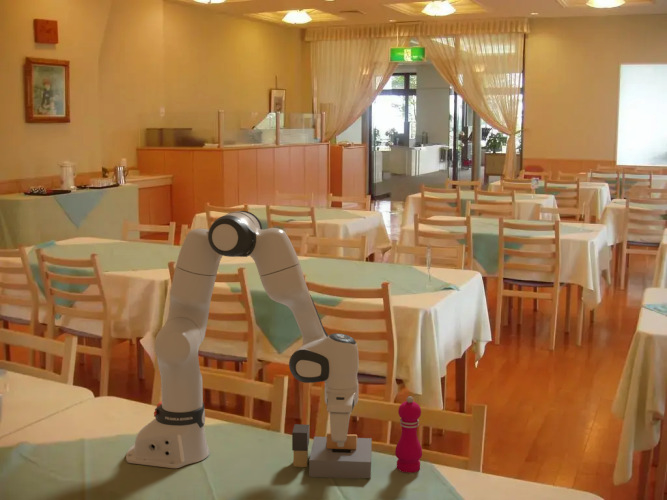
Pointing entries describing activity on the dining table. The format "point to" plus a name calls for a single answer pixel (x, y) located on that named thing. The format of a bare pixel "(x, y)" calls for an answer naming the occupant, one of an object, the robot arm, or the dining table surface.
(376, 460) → the dining table surface
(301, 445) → the plug
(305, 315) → the robot arm
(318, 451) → the socket block
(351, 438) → the block
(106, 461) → the dining table surface
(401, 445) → the pepper mill
